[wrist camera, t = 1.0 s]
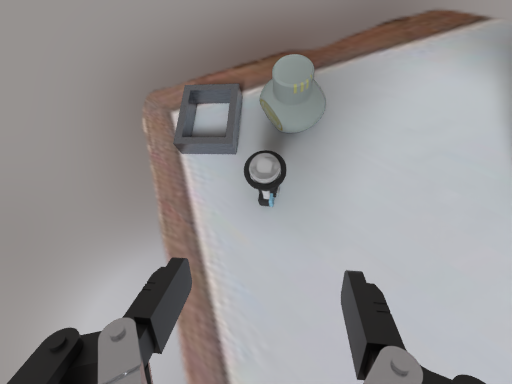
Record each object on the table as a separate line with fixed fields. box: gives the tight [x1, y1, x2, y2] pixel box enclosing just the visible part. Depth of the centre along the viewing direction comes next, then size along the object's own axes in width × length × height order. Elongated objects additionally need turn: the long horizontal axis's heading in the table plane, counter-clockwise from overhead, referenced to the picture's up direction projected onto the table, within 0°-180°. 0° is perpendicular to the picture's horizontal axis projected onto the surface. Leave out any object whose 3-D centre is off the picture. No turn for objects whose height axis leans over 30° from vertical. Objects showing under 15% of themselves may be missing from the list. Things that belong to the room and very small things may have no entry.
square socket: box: [173, 84, 242, 154], centre depth 43 cm, size 10×12×4 cm
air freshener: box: [260, 54, 326, 133], centre depth 39 cm, size 11×8×10 cm
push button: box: [244, 150, 286, 207], centre depth 35 cm, size 7×5×10 cm
